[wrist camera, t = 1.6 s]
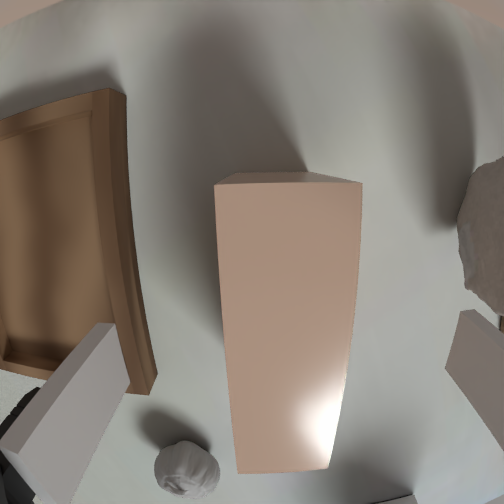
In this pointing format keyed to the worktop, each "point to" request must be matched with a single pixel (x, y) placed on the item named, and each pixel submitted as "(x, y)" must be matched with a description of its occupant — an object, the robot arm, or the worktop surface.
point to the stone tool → (484, 234)
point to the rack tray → (69, 237)
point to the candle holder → (502, 325)
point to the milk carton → (402, 500)
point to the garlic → (186, 470)
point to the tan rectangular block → (287, 311)
